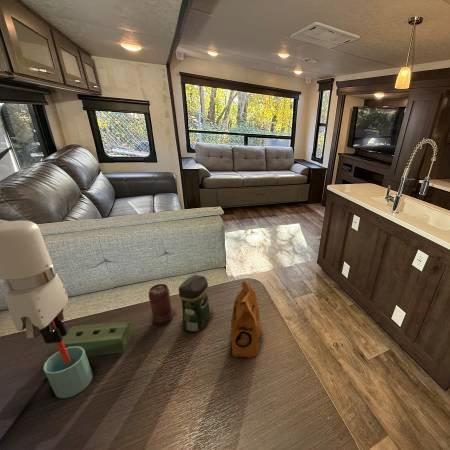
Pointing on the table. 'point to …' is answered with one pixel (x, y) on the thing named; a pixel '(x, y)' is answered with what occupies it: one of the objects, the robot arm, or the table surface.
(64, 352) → the straw
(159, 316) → the can
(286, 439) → the table surface
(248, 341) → the coffee package
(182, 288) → the coffee jar
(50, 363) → the tumbler
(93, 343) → the straw holder
